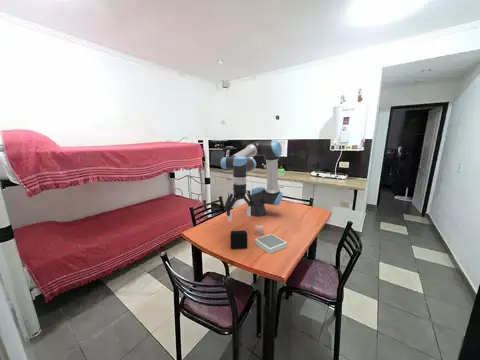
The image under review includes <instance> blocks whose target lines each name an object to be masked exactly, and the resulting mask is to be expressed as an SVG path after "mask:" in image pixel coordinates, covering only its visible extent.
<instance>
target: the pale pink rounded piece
mask: <svg viewBox="0 0 480 360" xmlns="http://www.w3.org/2000/svg"><path fill="white" fill-rule="evenodd" d="M254 227H255V228H254V233H255V236H259V237H263V236H264V234H265V225H264V224H262V223H256V224H255V226H254Z"/></svg>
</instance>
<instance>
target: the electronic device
mask: <svg viewBox="0 0 480 360" xmlns="http://www.w3.org/2000/svg"><path fill="white" fill-rule="evenodd" d="M229 238H230V239H229V240H230V241H229V242H230V250H246V249H248V231H247V230H231V231H230V237H229Z"/></svg>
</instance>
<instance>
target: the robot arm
mask: <svg viewBox="0 0 480 360" xmlns="http://www.w3.org/2000/svg"><path fill="white" fill-rule="evenodd" d="M282 149H283V148H282V145H281V143H280V141H278V140H257V141H254V142H252V143H249V144H247V146H245V148H244V149H242V150H240V151H238V152H236V153H234V154H233V155H231V156H228V157H227V156H226V157H225V156H224V157H222V158H221V160H220V167H221V168H222V169H223V170H224V169H225V170H231V171H233V174H232V182H233V184H232V188H233V189H232V190H233V193H232V192H228V197H227V198H226V201H225V203H224V206H223V210H225V211H226V216H227V221H228V222H232V208H233V207H234V205H235V203H236V202H237V201H239V200H240V201H241V200H244V202H246V204H247V205H246V216H247V217H250V218H251V216H253V217H264V216H266V215H267V210H266V207H265V205H271V206H279V205H280V204H281V202H282V199H283V192H282V191H281V189H280V187H279V185H278V184H279V183H278V180H279V179H278V160H279V159H280V157H281V156H282V152H283V150H282ZM255 156H257V157H259V156H260V157H261V156H262V157H263V160H265V163H266V188H265V187H262V186H261V187H260V186H259V187H254V188H252V189H251V190H249V189H247V184H246V183H247V172H251V171H253V170H254V169H256V167H257V162H256V160H255V158H252V157H255Z"/></svg>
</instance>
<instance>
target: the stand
mask: <svg viewBox="0 0 480 360" xmlns="http://www.w3.org/2000/svg"><path fill="white" fill-rule="evenodd" d="M254 244H255V245H256V246H258V247H259V249H260V248H261V249H262V250H263V251H265V252H266V253H267V254H269V255H272V254H274V253H275V252H279V251H281V250H283V249H286V248H287V247H288V243H287V241H285V240H283V239H282V238H280V237H279V236H276V235H275V234H273V233H270V234H269V233H268V234H266V235H262V236H259V237H258V238H255V239H254Z"/></svg>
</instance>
